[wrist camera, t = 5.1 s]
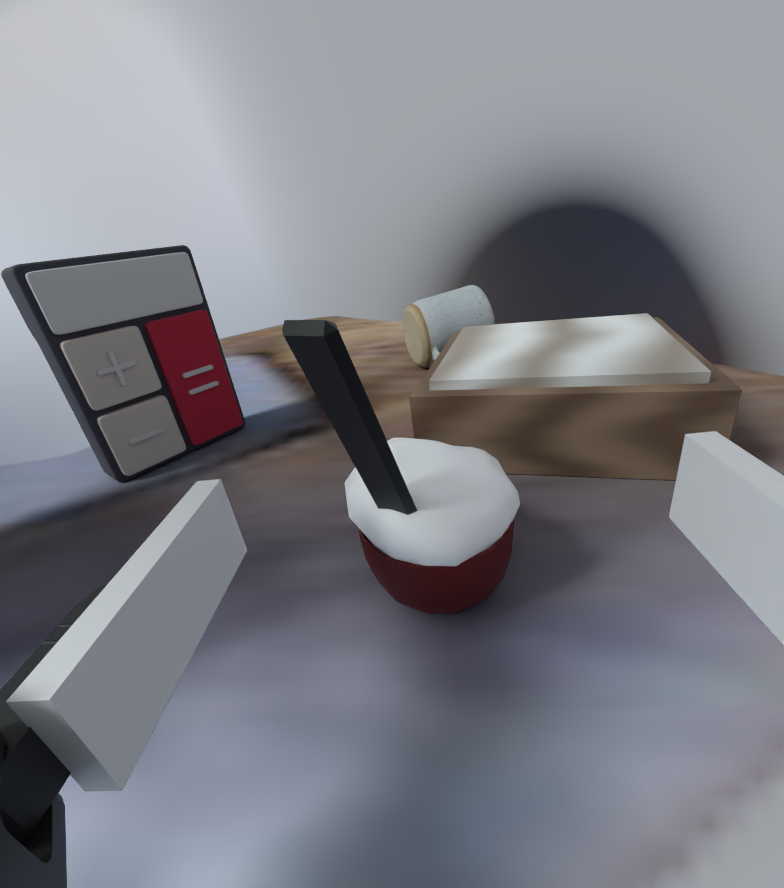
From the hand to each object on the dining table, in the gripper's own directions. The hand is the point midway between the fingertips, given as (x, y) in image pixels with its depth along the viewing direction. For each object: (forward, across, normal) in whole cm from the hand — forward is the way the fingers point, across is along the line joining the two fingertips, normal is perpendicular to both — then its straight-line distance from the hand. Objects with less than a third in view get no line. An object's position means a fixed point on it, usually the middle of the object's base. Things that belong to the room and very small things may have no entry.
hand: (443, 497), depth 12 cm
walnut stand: (+18, +8, -6) cm, 21 cm away
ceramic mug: (+35, +3, -7) cm, 36 cm away
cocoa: (+3, -1, -7) cm, 8 cm away
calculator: (+20, -21, -7) cm, 30 cm away
